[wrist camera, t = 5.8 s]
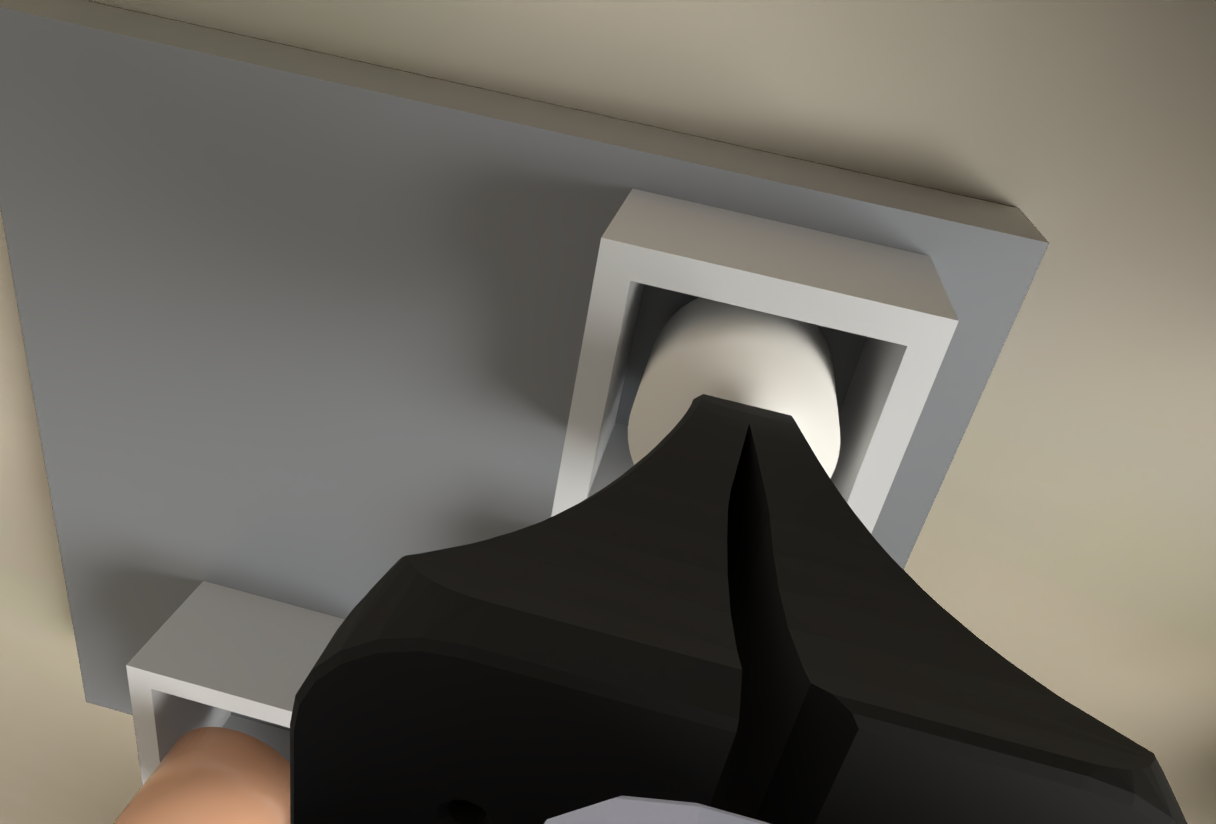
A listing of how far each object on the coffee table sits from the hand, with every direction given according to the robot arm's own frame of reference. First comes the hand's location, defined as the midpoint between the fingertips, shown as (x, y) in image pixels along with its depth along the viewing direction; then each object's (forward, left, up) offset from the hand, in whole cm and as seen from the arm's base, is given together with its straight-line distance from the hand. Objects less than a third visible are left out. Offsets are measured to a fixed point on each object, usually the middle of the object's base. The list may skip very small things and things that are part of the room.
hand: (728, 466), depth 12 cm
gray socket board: (-5, +5, -6) cm, 9 cm away
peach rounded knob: (-11, +8, -1) cm, 14 cm away
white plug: (0, 0, -3) cm, 3 cm away
